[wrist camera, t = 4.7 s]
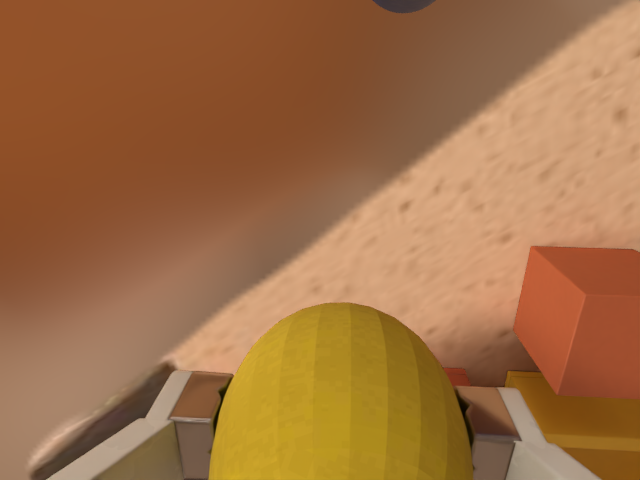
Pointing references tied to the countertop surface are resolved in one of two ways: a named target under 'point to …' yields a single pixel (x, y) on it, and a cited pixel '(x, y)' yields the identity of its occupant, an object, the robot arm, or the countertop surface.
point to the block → (583, 320)
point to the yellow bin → (585, 426)
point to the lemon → (340, 404)
